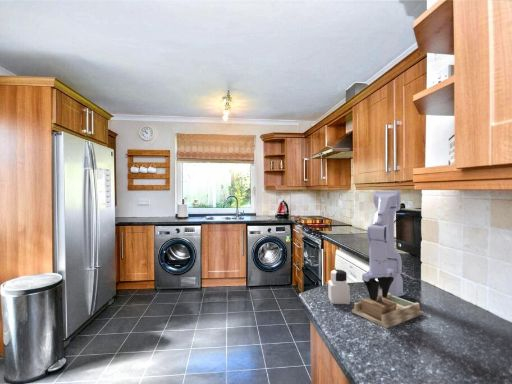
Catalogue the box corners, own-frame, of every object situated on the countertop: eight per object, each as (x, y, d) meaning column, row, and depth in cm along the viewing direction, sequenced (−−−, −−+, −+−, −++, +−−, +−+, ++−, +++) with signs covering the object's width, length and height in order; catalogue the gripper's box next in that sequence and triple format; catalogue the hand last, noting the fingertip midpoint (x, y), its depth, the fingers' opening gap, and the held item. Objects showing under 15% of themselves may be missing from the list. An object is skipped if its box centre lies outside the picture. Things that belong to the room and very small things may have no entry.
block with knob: (376, 306, 103) (375, 282, 103) (396, 314, 96) (396, 289, 96) (361, 310, 99) (361, 286, 99) (381, 319, 92) (381, 293, 92)
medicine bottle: (345, 297, 114) (345, 268, 114) (350, 304, 107) (349, 273, 107) (328, 297, 115) (328, 268, 115) (331, 304, 108) (331, 273, 108)
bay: (386, 300, 110) (386, 292, 110) (422, 314, 98) (422, 304, 98) (351, 312, 100) (351, 302, 100) (387, 328, 88) (386, 317, 88)
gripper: (374, 264, 90) (375, 306, 90) (401, 259, 97) (401, 297, 97) (356, 260, 96) (357, 299, 96) (383, 255, 103) (383, 291, 103)
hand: (378, 298), depth 97 cm, fingers open, 5 cm apart
